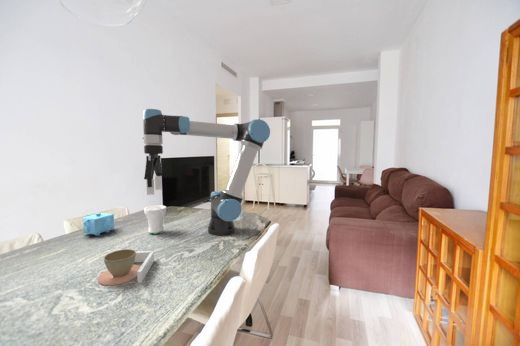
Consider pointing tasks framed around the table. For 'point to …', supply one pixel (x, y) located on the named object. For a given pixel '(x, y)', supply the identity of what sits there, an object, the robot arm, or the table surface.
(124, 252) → the flower pot
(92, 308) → the table surface
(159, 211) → the cup
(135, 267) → the coaster
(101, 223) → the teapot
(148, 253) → the acrylic walls
